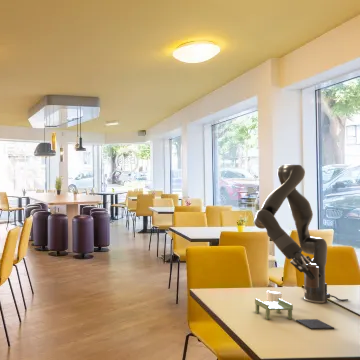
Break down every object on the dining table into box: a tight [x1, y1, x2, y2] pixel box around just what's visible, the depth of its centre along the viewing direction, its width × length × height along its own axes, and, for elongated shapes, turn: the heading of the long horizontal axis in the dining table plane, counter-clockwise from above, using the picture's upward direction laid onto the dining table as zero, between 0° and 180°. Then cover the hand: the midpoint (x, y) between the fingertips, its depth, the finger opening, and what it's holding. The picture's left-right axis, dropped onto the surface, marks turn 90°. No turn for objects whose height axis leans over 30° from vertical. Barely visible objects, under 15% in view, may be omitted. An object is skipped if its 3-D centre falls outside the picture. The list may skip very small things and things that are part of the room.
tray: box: [254, 298, 294, 320], centre depth 180 cm, size 12×10×7 cm
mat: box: [295, 318, 335, 330], centre depth 169 cm, size 10×10×1 cm
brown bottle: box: [305, 263, 319, 288], centre depth 170 cm, size 5×5×10 cm
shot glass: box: [265, 289, 283, 302], centre depth 195 cm, size 7×7×7 cm
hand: (316, 278), depth 168 cm, fingers closed on brown bottle, 5 cm apart
